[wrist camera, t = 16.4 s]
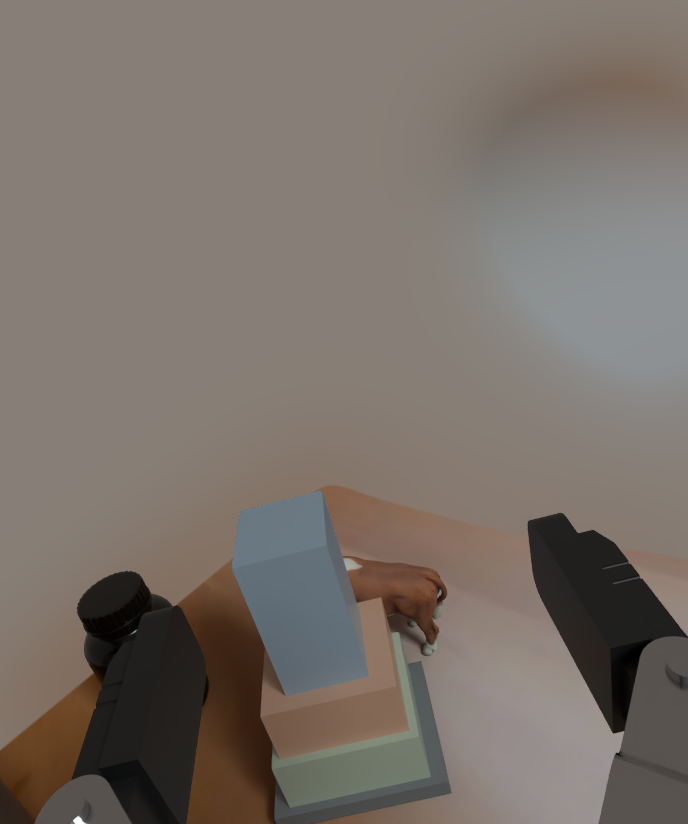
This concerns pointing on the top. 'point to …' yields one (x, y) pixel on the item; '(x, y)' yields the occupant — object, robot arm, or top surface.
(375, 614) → the brick tower
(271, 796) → the top surface
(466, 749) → the top surface
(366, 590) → the bull figurine
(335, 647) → the column brick
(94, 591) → the supplement bottle
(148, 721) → the robot arm
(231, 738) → the top surface
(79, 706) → the top surface
